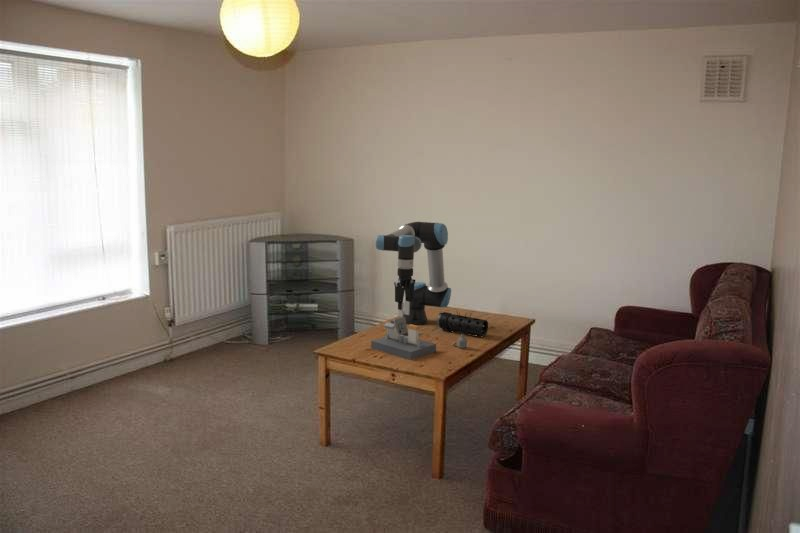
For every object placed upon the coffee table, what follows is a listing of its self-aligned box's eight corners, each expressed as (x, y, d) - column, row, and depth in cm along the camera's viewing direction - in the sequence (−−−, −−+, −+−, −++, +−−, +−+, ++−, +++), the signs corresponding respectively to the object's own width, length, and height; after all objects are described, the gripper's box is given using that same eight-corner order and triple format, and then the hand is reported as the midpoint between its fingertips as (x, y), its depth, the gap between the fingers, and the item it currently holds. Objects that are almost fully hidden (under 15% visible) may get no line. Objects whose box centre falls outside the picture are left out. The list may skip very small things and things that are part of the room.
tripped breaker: (409, 342, 335) (410, 324, 333) (419, 344, 331) (419, 326, 329) (406, 343, 333) (407, 324, 331) (416, 345, 329) (416, 327, 328)
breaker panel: (396, 340, 352) (397, 327, 351) (435, 351, 336) (436, 337, 335) (370, 348, 337) (371, 334, 336) (410, 360, 321) (411, 345, 320)
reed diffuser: (471, 348, 344) (474, 310, 340) (466, 351, 338) (468, 313, 334) (454, 344, 349) (456, 307, 345) (448, 347, 343) (450, 310, 340)
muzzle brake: (480, 340, 360) (481, 321, 359) (435, 331, 375) (436, 313, 373) (488, 336, 368) (489, 318, 366) (443, 327, 383) (444, 310, 381)
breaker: (392, 336, 343) (386, 322, 338) (401, 338, 339) (395, 324, 334) (389, 339, 341) (383, 325, 336) (398, 341, 337) (392, 327, 332)
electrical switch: (397, 336, 361) (396, 319, 360) (390, 335, 364) (389, 318, 363) (408, 333, 368) (407, 316, 367) (400, 332, 371) (400, 316, 370)
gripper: (400, 270, 311) (398, 319, 315) (422, 266, 323) (420, 313, 327) (388, 268, 315) (386, 316, 319) (410, 264, 328) (408, 311, 332)
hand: (403, 315), depth 323 cm, fingers open, 4 cm apart
